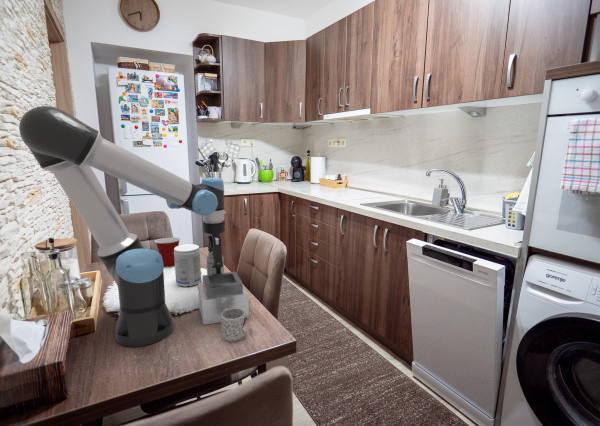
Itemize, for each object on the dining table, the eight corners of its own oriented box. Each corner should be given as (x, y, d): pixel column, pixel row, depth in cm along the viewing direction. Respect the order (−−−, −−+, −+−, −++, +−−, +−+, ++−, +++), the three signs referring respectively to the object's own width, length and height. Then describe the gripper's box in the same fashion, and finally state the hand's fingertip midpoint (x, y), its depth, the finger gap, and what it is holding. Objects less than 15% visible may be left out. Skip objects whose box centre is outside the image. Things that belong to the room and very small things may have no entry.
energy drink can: (226, 292, 121) (225, 254, 119) (210, 296, 118) (208, 256, 116) (221, 287, 126) (220, 249, 124) (205, 290, 123) (204, 252, 121)
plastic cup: (176, 258, 158) (174, 234, 155) (185, 264, 150) (184, 239, 148) (152, 263, 150) (150, 238, 148) (161, 270, 143) (159, 243, 140)
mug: (248, 337, 93) (248, 315, 92) (226, 344, 90) (225, 321, 88) (235, 321, 102) (235, 301, 100) (214, 327, 98) (214, 306, 97)
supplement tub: (195, 276, 137) (194, 242, 134) (205, 283, 129) (203, 247, 127) (172, 281, 131) (170, 246, 128) (180, 289, 123) (178, 252, 121)
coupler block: (203, 325, 99) (201, 291, 97) (198, 304, 112) (197, 274, 110) (248, 317, 104) (248, 284, 102) (239, 298, 117) (239, 269, 115)
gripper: (230, 228, 107) (232, 288, 111) (219, 214, 130) (220, 265, 134) (207, 229, 105) (209, 292, 109) (199, 215, 127) (201, 267, 131)
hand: (215, 277), depth 121 cm, fingers open, 13 cm apart
